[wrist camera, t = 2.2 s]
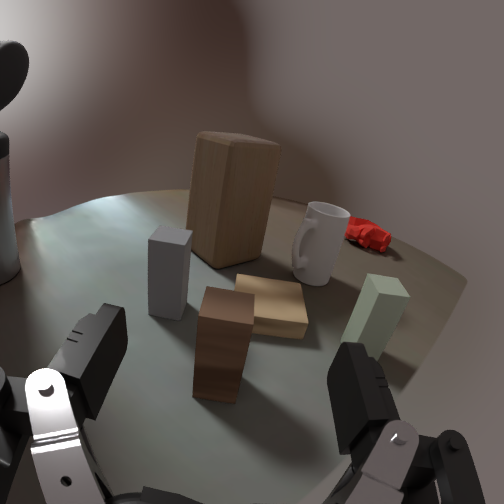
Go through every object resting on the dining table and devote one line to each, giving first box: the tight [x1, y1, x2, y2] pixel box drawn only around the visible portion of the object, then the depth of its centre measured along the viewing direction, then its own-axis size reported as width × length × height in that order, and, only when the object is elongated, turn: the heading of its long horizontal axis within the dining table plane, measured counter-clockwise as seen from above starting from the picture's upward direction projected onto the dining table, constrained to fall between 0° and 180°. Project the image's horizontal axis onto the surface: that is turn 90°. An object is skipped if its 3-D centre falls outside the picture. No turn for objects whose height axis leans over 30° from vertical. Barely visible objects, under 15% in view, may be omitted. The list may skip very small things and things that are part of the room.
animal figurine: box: [345, 216, 391, 252], centre depth 71 cm, size 12×15×5 cm
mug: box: [292, 202, 350, 286], centre depth 47 cm, size 10×7×12 cm, turn 130°
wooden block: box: [186, 131, 281, 269], centre depth 49 cm, size 10×10×20 cm
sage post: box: [340, 274, 410, 361], centre depth 33 cm, size 4×4×10 cm
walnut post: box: [192, 286, 255, 404], centre depth 25 cm, size 4×4×10 cm
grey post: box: [148, 226, 193, 321], centre depth 35 cm, size 4×4×10 cm
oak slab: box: [234, 274, 308, 339], centre depth 39 cm, size 9×9×3 cm
